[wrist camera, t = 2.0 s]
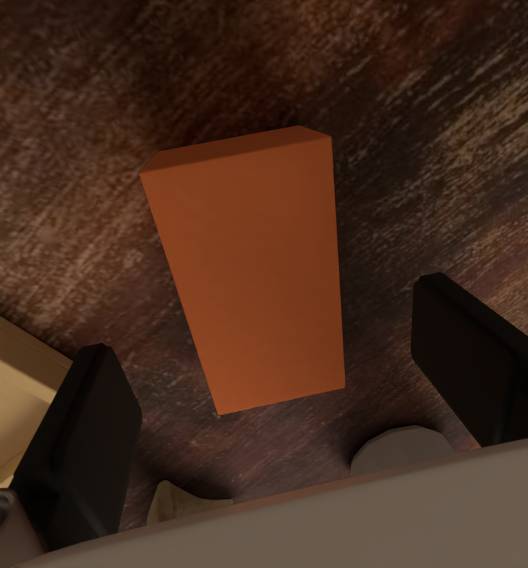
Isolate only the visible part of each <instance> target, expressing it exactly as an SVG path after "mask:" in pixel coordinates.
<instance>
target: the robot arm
mask: <svg viewBox="0 0 528 568" xmlns="http://www.w3.org/2000/svg"><path fill="white" fill-rule="evenodd" d="M411 355H412V358H413V360H414V361H415V363H416V364H417V365H418V367H419V368H420V369H421V370H422V372H423V373H424V374H425V376H426V377H427V378H428V379H429V381H430V382H431V383H432V384H433V386H434V387H435V388H436V390H437V391H438V392H439V393H440V395H441V396H442V397H443V399H444V400H445V401H446V402H447V404H448V405H449V406H450V407H451V409H452V410H453V411H454V413H455V414H456V415H457V416H458V418H459V419H460V420H461V422H462V423H463V424H464V425H465V427H466V428H467V429H468V430H469V432H470V433H471V434H472V436H473V437H474V438H475V439H476V441H477V442H478V443H479V445H480V446H481V447H482V448H478V449H474V450H469V451H465V452H460V453H456V454H451V455H447V456H443V457H438V458H434V459H429V460H425V461H421V462H416V463H412V464H407V465H403V466H399V467H394V468H390V469H385V470H381V471H376V472H372V473H368V474H364V475H359V476H355V477H351V478H346V479H342V480H338V481H333V482H329V483H325V484H320V485H316V486H312V487H307V488H303V489H299V490H295V491H290V492H286V493H282V494H278V495H273V496H269V497H265V498H260V499H256V500H252V501H248V502H243V503H239V504H235V505H231V506H227V507H223V508H218V509H214V510H210V511H206V512H202V513H197V514H193V515H189V516H185V517H181V518H176V519H172V520H168V521H164V522H160V523H155V524H151V525H147V526H143V527H140V528H136V529H132V530H128V531H124V532H120V533H118V529H119V525H120V520H121V516H122V511H123V506H124V502H125V497H126V493H127V488H128V483H129V479H130V474H131V470H132V465H133V460H134V456H135V451H136V447H137V442H138V437H139V433H140V428H141V424H142V411H141V408H140V406H139V404H138V402H137V399H136V397H135V395H134V393H133V391H132V389H131V387H130V385H129V382H128V380H127V378H126V376H125V374H124V372H123V370H122V367H121V365H120V363H119V361H118V359H117V357H116V355H115V353H114V350H113V349H112V347H110V346H108V347H106V345H104V344H103V343H99V344H94V345H89V346H85V347H82V348H81V349H80V350H79V352H78V354H77V355H76V357H75V359H74V361H73V363H72V365H71V367H70V369H69V370H68V372H67V374H66V376H65V378H64V380H63V382H62V384H61V386H60V387H59V389H58V391H57V393H56V395H55V397H54V399H53V401H52V402H51V404H50V406H49V408H48V410H47V412H46V414H45V416H44V417H43V419H42V421H41V423H40V425H39V427H38V429H37V431H36V432H35V434H34V436H33V438H32V440H31V442H30V444H29V446H28V448H27V449H26V451H25V453H24V455H23V457H22V459H21V461H20V463H19V464H18V466H17V468H16V470H15V472H14V474H13V476H14V477H13V479H12V481H11V483H10V485H9V487H8V488H0V568H528V336H527V335H526V334H524V333H523V332H522V331H520V330H519V329H517V328H516V327H515V326H513V325H512V324H511V323H509V322H508V321H507V320H505V319H504V318H503V317H501V316H500V315H499V314H497V313H496V312H494V311H493V310H492V309H490V308H489V307H488V306H486V305H485V304H484V303H482V302H481V301H480V300H478V299H477V298H476V297H474V296H473V295H471V294H470V293H469V292H467V291H466V290H465V289H463V288H462V287H461V286H459V285H458V284H457V283H455V282H454V281H453V280H451V279H450V278H449V277H447V276H446V275H444V274H443V273H441V272H438V273H434V274H429V275H424V276H421V277H420V278H419V281H418V282H416V283H415V284H414V295H413V313H412V332H411Z"/></svg>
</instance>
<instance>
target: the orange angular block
mask: <svg viewBox="0 0 528 568" xmlns="http://www.w3.org/2000/svg"><path fill="white" fill-rule="evenodd" d="M139 175H140V179H141V182H142V185H143V188H144V191H145V194H146V197H147V200H148V203H149V206H150V209H151V212H152V215H153V218H154V221H155V224H156V227H157V230H158V233H159V237H160V240H161V243H162V246H163V249H164V252H165V255H166V258H167V261H168V264H169V267H170V270H171V273H172V276H173V279H174V282H175V285H176V288H177V291H178V294H179V298H180V301H181V304H182V307H183V310H184V313H185V316H186V319H187V322H188V325H189V328H190V331H191V334H192V337H193V340H194V343H195V346H196V349H197V352H198V356H199V359H200V362H201V365H202V368H203V371H204V374H205V377H206V380H207V383H208V386H209V389H210V392H211V395H212V398H213V401H214V404H215V407H216V410H217V413H218V415H222V414H227V413H231V412H236V411H240V410H245V409H249V408H254V407H259V406H263V405H268V404H272V403H277V402H281V401H286V400H291V399H295V398H300V397H304V396H309V395H313V394H318V393H323V392H327V391H332V390H336V389H341V388H345V368H344V351H343V333H342V315H341V298H340V280H339V262H338V244H337V227H336V209H335V191H334V174H333V156H332V138H331V136H328V135H326V134H323V133H320V132H317V131H314V130H311V129H309V128H306V127H303V126H300V125H297V126H292V127H287V128H281V129H276V130H271V131H265V132H260V133H254V134H249V135H244V136H238V137H233V138H228V139H222V140H217V141H212V142H206V143H201V144H196V145H190V146H185V147H180V148H174V149H169V150H163V151H159V152H157V154H156V155H155V156H154V157H153V158H152V159H151V160H150V161H149V162H148V163H147V165H146V166H145V167H144V168H143V169H142V170H141V171H140V172H139Z"/></svg>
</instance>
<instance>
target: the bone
mask: <svg viewBox="0 0 528 568" xmlns="http://www.w3.org/2000/svg"><path fill="white" fill-rule="evenodd" d="M231 505H232V499H228V500H207V499H202V498H199V497H196V496H194V495H192V494H190V493H188V492H186V491H184V490H182V489H180V488H178V487H176V486H175V485H173V484H171V483H170V482H169V481H167V480H164V481H162V482H160V483H159V484H158V486H157V489H156V492H155V495H154V498H153V501H152V504H151V507H150V510H149V513H148V517H147V524H146V526H147V525H151V524H155V523H160V522H164V521H168V520H172V519H176V518H181V517H185V516H189V515H193V514H197V513H202V512H206V511H210V510H214V509H218V508H223V507H227V506H231Z"/></svg>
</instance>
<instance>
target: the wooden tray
mask: <svg viewBox="0 0 528 568" xmlns="http://www.w3.org/2000/svg"><path fill="white" fill-rule="evenodd" d="M72 363H73V361H72V360H71V359H69V358H67V357H66V356H64V355H62V354H61V353H59V352H58V351H56V350H54V349H53V348H51V347H50V346H48V345H46V344H45V343H43V342H41V341H40V340H38V339H37V338H35V337H33V336H32V335H30V334H28V333H27V332H25V331H24V330H22V329H20V328H19V327H17V326H16V325H14V324H12V323H11V322H9V321H7V320H6V319H4V318H3V317H1V316H0V488H8V487H9V485H10V483H11V481H12V479H13V477H14V476H13V474H14V472H15V470H16V468H17V466H18V464H19V463H20V461H21V459H22V457H23V455H24V453H25V451H26V449H27V448H28V446H29V444H30V442H31V440H32V438H33V436H34V434H35V432H36V431H37V429H38V427H39V425H40V423H41V421H42V419H43V417H44V416H45V414H46V412H47V410H48V408H49V406H50V404H51V402H52V401H53V399H54V397H55V395H56V393H57V391H58V389H59V387H60V386H61V384H62V382H63V380H64V378H65V376H66V374H67V372H68V370H69V369H70V367H71V365H72Z"/></svg>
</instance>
